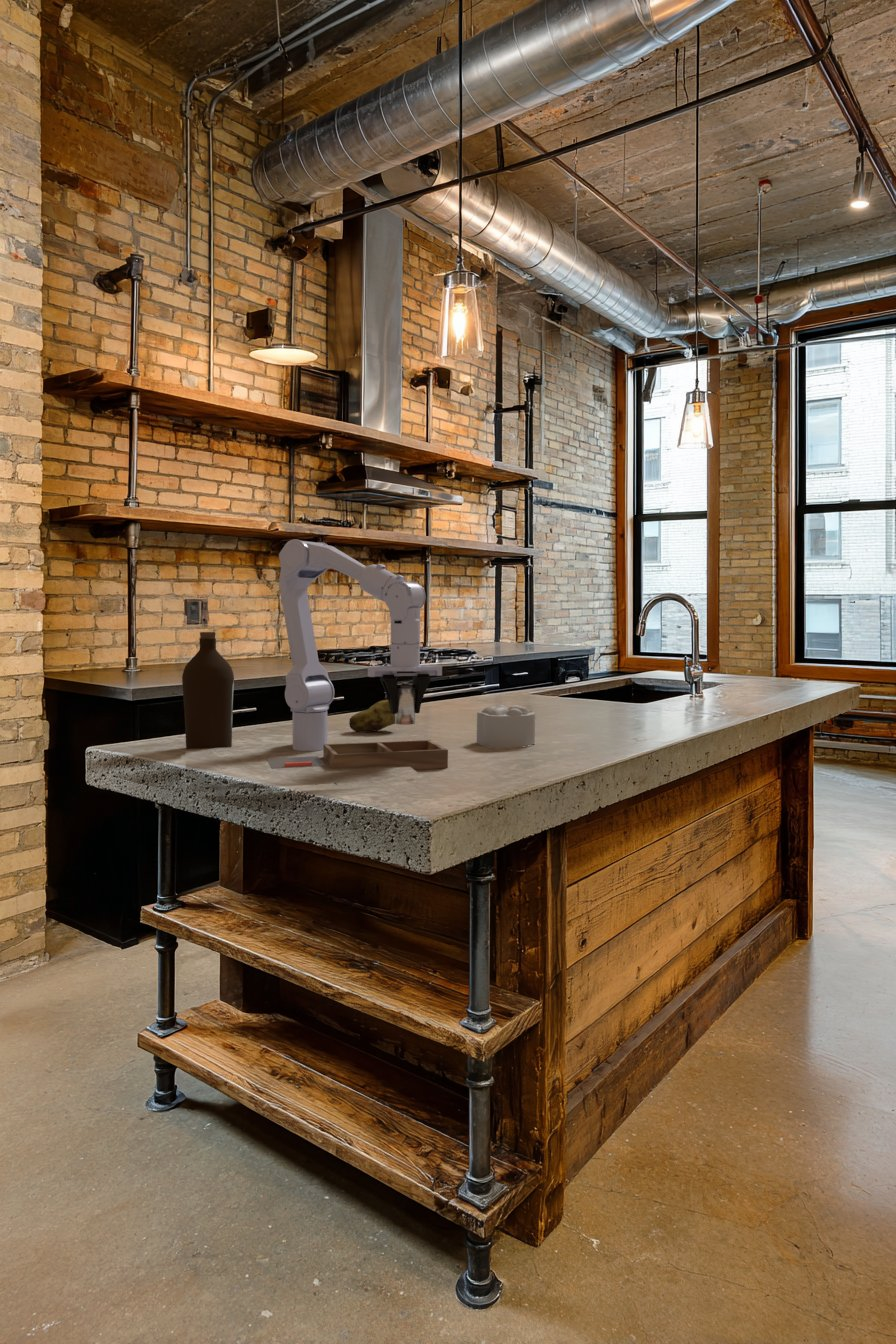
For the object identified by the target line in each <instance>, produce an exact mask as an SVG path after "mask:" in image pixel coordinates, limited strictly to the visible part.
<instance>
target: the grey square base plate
mask: <svg viewBox="0 0 896 1344" xmlns="http://www.w3.org/2000/svg"><path fill="white" fill-rule="evenodd" d="M266 760H267V762H268V764H269V766H270V767H271V769H289V768H307V767H309V768H310V767H327V765H326V763H324V761H323V760H322V759H321V758H320V757H319V756H314V755H313V756H293V757H273V758H270V757H269V758H266Z"/></svg>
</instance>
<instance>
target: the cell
mask: <svg viewBox="0 0 896 1344" xmlns="http://www.w3.org/2000/svg"><path fill="white" fill-rule="evenodd" d="M396 701H397V714H395V724H394V725H402V726H403V725H404V726H405V725H407V726H408V725H409V726H410V725H415V724H416V713H415V684H413V683H410V682H409V681H402V682H401V683H397V695H396Z"/></svg>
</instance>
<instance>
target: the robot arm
mask: <svg viewBox="0 0 896 1344" xmlns="http://www.w3.org/2000/svg"><path fill="white" fill-rule="evenodd" d="M278 558H279V564H280V573H279V578H278V579H279V581H278V582H279V583H278V586H279V591H280V592H279V593H280V598H281V605H282V610H283V611H282V612H283V617H284V622H285V628H286V635H287V640H288V646H289V652H290V658H291V663H292V666H291V669H289V671H288V672H287V674H286V675H285V682H286V683H285V689H284V699H285V702H286V704H287V706H288V707H289V708H290V712H292V749H293V750H295V751H301V752H318V751H323V744H328V710H329V709H330V705H331V703H332V702H333V701H334V699H335V688H334V684H333V683H332V681H331V680H330V677H329V672H328V670H327V669H326V668H325V667H324V666H323V665H322V664H321V663H320V660H319V655H318V649H317V648H318V647H317V643H316V642H317V641H316V636H315V631H314V624H313V620H312V613H311V608H310V607H311V606H310V602H309V595H308V588H309V587H310V586H311V584H312V583H313V582H314V581H315V580H317V578H319V577H321V576H322V575H323V574H324V573H325V572H327V571H328V570H329V569H333V570H334V571H337V572H339V573H341V574H343V575H345V576H348V577H350V578H351V579H354V580H356V581H358V584H359V587H360V589H361V590H362V591H363V592H365V593H367V594H369V595H371V596H373V597H374V598H376V599H379V600H380V601H382V602H384V603H385V605H386V607H387V608H388V611H389V617H390V665H375V666H374V665H369V666H367V677H369V678H376V677H379V680H380V683H381V685H382V686H383V690H384V692H385V694H386V697H387V700H388V701H389V705H390V711H391V713H392V714H397V701H396V695H397V684H399V682H398V681H399V680H398V679H397V678H396V677H412V679H411V680H412V684H415V714H420V711H421V707H422V701H423V699H424V695H425V693H426V692H427V689H428V688H429V685H430V683H431V680H432V678H431V677H432V676H436V677H438V676H439V677H441V676H443V666H442V665H437V664H436V665H435V664H434V665H429V664H428V665H426V664H425V665H423V664H421V663H420V662H421V609H422V608H423V607H424V606H425V603H426V598H427V597H426V591H425V589H424V587H423V586H422V585H421V584H419V583H418V582H417V581H414V580H412V581H406V580H405V576H403V575H402V574H397V575H396V573H395V574H394V573H393V572H391V571H389V570H387V569H386V568H387V566H386V565H384V564H382V563H377V564H376V563H375V564H370V565H367V566H366V565H364V564H363V563H361V562H360V561H358V560H356V559H355V558H353V557H351V556H350V555H348V554H346V553H345V552H343V551H341V550H339V549H337V548H336V547H335V546H332V545H328V544H327V543H326V542H323V541H321V542H319V541H318V542H315V541H307V540H300V539H295V538H294V539H290V540H288V541H287V542H286V543H285V544H284V546H283V547H282V549H281V550H280V552H279V553H278ZM400 672H401V673H400ZM402 672H403V673H402Z"/></svg>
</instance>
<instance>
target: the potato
mask: <svg viewBox="0 0 896 1344" xmlns="http://www.w3.org/2000/svg"><path fill="white" fill-rule="evenodd" d="M348 724H349V728H350V729H351V730H353V731H354V732H356V733H360V732H362V733H365V732H366V733H370V732H377V731H381V730H383V729H384V728H387V727H390V726H393V725H396V724H395V714H392V713H391V711H390V705H389V701H388V699H382V700H379V701H377V702H376V703H374V704H373V705H371V706H370V707H369V708H368V709H364V710H361V711H360V712H357V713H355V714H353V715H352V716H350V718H349V723H348Z"/></svg>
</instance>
